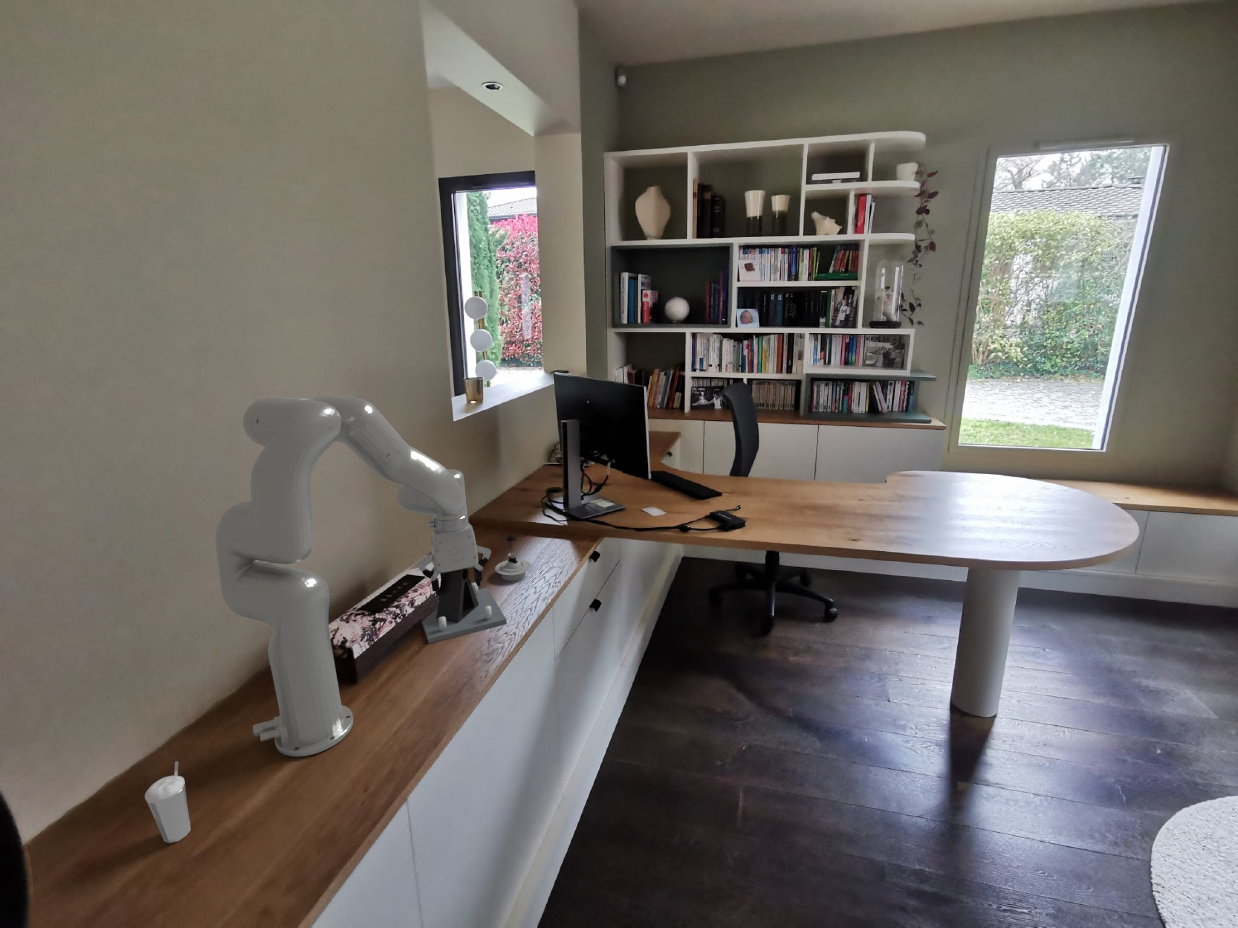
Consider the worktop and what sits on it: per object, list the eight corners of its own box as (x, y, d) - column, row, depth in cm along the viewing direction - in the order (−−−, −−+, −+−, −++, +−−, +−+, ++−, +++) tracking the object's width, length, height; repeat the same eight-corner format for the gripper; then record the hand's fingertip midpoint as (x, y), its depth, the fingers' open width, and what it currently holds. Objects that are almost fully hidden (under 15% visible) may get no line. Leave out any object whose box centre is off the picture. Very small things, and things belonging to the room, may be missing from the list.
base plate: (428, 643, 134) (426, 626, 133) (416, 607, 149) (415, 592, 148) (506, 623, 142) (505, 607, 140) (487, 591, 157) (486, 577, 156)
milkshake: (206, 815, 90) (192, 760, 87) (182, 846, 85) (167, 789, 82) (176, 816, 90) (161, 761, 87) (150, 848, 84) (133, 790, 82)
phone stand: (457, 623, 140) (453, 576, 136) (436, 619, 142) (431, 573, 138) (479, 605, 148) (475, 560, 145) (458, 601, 150) (454, 557, 147)
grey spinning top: (537, 532, 164) (510, 525, 169) (511, 545, 156) (484, 537, 161) (539, 573, 167) (513, 565, 173) (514, 587, 159) (488, 578, 165)
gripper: (415, 534, 132) (423, 603, 137) (491, 521, 139) (497, 587, 144) (410, 523, 138) (418, 590, 143) (484, 511, 146) (489, 574, 150)
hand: (457, 588), depth 144 cm, fingers open, 9 cm apart
